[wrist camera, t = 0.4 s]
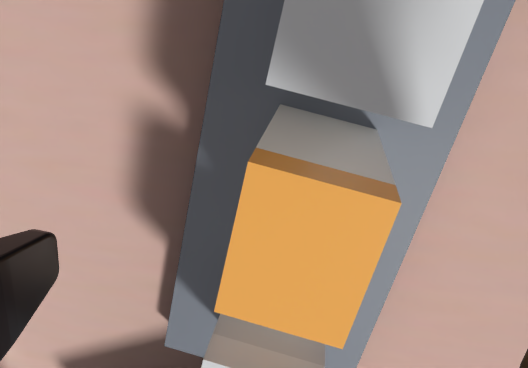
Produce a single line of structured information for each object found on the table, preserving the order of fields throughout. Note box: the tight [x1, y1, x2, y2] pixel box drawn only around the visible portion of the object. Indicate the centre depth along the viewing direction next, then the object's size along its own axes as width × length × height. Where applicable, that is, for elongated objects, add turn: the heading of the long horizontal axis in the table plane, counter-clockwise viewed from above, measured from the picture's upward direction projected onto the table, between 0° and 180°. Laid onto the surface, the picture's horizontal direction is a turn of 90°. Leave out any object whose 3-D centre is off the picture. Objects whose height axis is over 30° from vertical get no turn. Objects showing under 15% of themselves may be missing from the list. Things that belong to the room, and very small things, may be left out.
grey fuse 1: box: [201, 314, 325, 368], centre depth 18 cm, size 4×5×7 cm
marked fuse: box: [214, 104, 402, 349], centre depth 15 cm, size 4×5×7 cm
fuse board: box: [164, 0, 515, 368], centre depth 19 cm, size 10×24×2 cm, turn 167°
